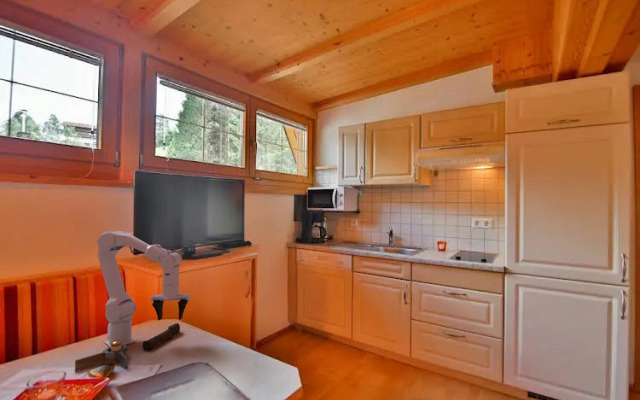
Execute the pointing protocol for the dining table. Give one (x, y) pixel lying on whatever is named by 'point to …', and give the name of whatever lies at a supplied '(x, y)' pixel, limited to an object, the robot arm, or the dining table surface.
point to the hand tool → (161, 337)
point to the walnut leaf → (93, 361)
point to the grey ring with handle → (118, 355)
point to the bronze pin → (116, 345)
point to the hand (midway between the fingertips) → (170, 319)
